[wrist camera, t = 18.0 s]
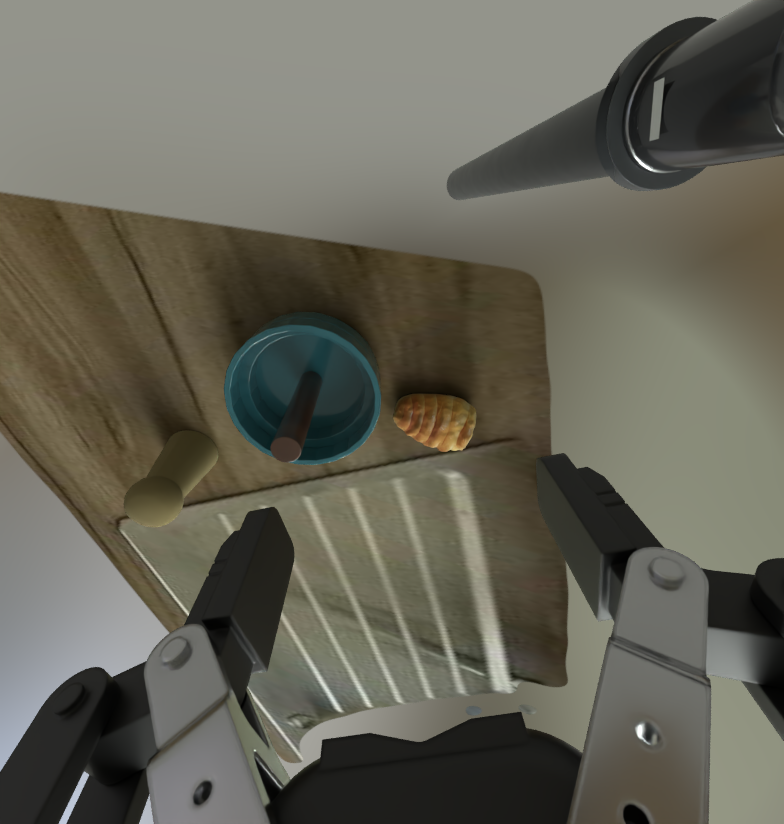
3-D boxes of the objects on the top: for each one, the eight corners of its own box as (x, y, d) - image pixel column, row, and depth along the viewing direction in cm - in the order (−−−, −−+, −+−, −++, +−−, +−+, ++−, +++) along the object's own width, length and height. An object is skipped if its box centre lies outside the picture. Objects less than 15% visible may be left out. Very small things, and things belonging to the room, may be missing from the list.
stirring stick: (318, 369, 42) (295, 434, 30) (324, 388, 43) (305, 459, 31) (297, 373, 42) (265, 440, 30) (304, 393, 43) (276, 465, 31)
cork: (217, 475, 49) (178, 540, 39) (167, 467, 48) (114, 532, 38) (219, 434, 46) (177, 494, 36) (166, 426, 45) (108, 484, 36)
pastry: (385, 428, 47) (386, 445, 43) (403, 378, 44) (405, 392, 40) (457, 446, 48) (463, 463, 45) (478, 399, 46) (486, 414, 42)
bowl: (361, 295, 39) (359, 308, 34) (392, 422, 46) (394, 449, 41) (220, 327, 40) (197, 344, 35) (271, 447, 47) (258, 476, 42)
